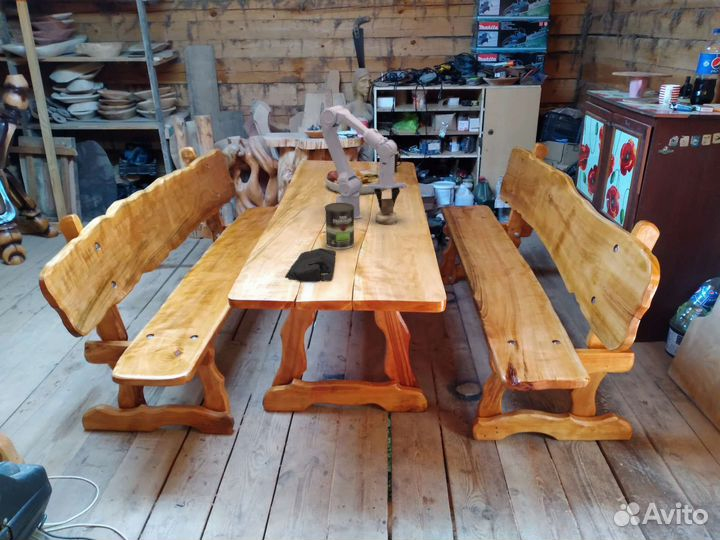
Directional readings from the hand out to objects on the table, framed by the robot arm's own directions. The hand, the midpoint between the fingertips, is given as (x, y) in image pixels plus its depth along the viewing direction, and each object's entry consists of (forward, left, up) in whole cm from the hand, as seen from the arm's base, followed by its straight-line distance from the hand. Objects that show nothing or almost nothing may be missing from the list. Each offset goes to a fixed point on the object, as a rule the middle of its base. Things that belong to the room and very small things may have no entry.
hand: (386, 206), depth 218 cm
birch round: (0, 0, -6) cm, 6 cm away
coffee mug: (+18, +77, -6) cm, 79 cm away
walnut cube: (0, 0, -2) cm, 2 cm away
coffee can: (-21, -21, -6) cm, 30 cm away
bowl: (-4, +52, -7) cm, 53 cm away
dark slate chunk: (-32, -40, -7) cm, 52 cm away
